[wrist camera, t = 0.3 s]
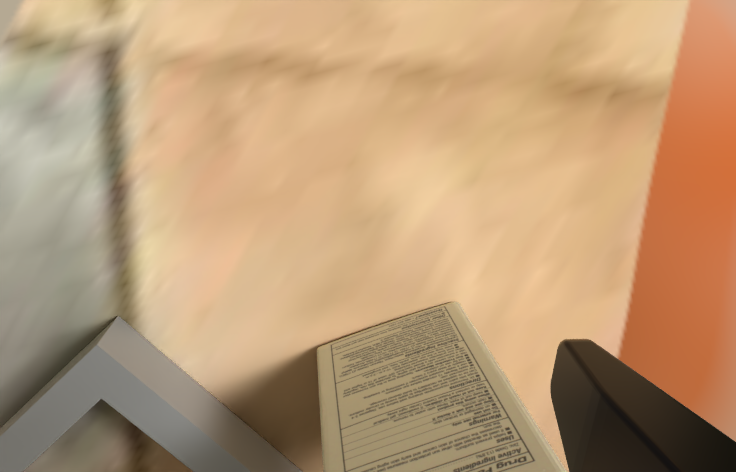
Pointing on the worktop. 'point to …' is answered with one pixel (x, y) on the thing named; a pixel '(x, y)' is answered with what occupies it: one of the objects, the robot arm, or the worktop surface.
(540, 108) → the worktop surface
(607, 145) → the worktop surface
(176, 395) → the holder
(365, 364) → the skincare box
